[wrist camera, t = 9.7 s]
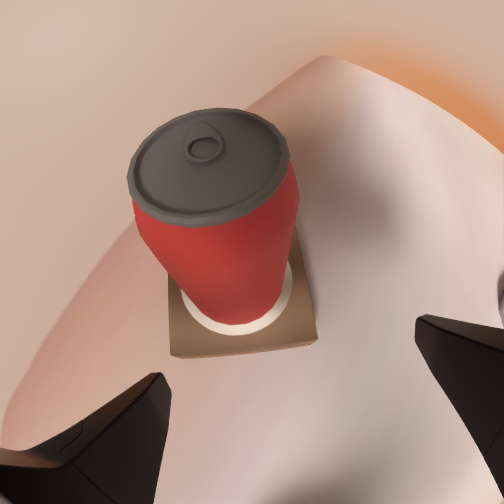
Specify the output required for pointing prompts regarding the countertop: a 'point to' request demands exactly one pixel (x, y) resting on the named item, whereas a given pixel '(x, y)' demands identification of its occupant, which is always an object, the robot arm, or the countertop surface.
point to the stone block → (502, 309)
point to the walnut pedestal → (245, 335)
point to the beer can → (218, 209)
